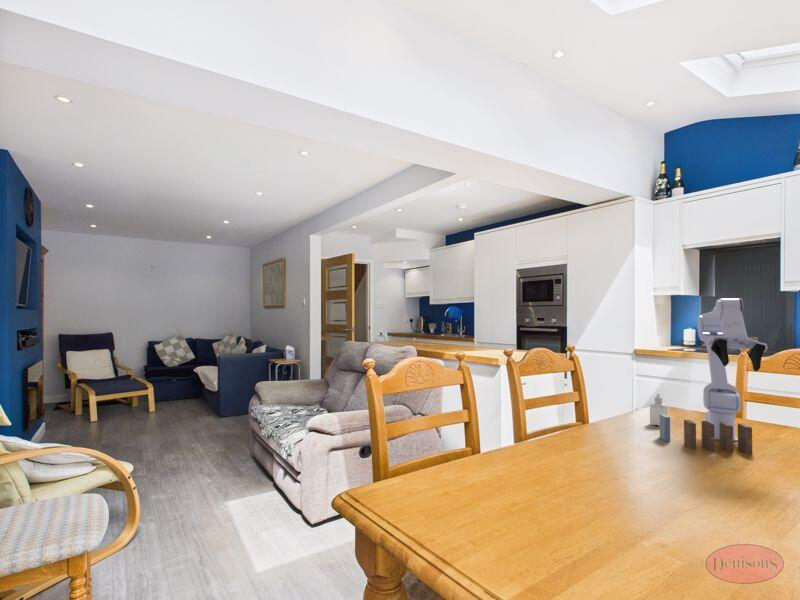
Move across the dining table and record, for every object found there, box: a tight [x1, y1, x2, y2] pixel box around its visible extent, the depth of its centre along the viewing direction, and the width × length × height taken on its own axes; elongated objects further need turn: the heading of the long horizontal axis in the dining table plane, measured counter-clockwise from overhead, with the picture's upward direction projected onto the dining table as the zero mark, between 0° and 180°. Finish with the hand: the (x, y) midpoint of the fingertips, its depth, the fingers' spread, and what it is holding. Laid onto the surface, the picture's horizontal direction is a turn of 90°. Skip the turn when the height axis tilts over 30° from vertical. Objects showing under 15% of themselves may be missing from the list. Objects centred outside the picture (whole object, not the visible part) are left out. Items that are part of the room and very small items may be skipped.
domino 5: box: [737, 422, 753, 455], centre depth 133 cm, size 2×5×8 cm, turn 165°
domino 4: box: [719, 422, 734, 453], centre depth 134 cm, size 2×5×8 cm, turn 166°
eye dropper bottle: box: [649, 393, 668, 427], centre depth 163 cm, size 4×6×12 cm
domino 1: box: [659, 414, 671, 442], centre depth 145 cm, size 2×5×8 cm, turn 166°
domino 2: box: [683, 419, 697, 450], centre depth 137 cm, size 2×5×8 cm, turn 165°
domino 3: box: [701, 420, 716, 452], centre depth 136 cm, size 2×5×8 cm, turn 166°
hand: (741, 366), depth 124 cm, fingers open, 7 cm apart
